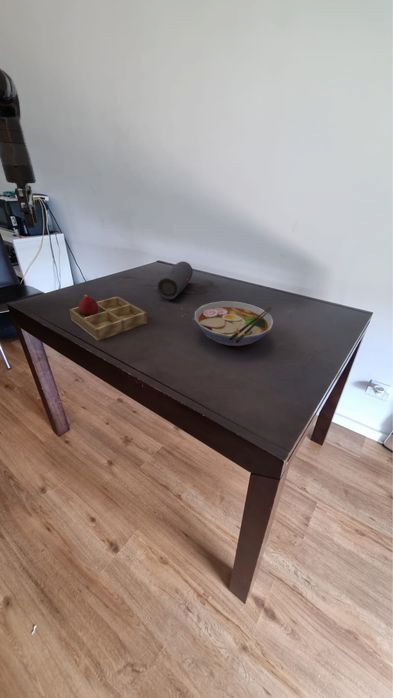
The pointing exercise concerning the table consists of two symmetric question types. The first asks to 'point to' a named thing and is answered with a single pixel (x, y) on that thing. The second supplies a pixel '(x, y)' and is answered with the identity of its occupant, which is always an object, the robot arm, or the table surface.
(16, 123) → the robot arm
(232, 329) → the ramen bowl
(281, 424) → the table surface
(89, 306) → the onion
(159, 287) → the bluetooth speaker
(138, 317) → the compartment tray
